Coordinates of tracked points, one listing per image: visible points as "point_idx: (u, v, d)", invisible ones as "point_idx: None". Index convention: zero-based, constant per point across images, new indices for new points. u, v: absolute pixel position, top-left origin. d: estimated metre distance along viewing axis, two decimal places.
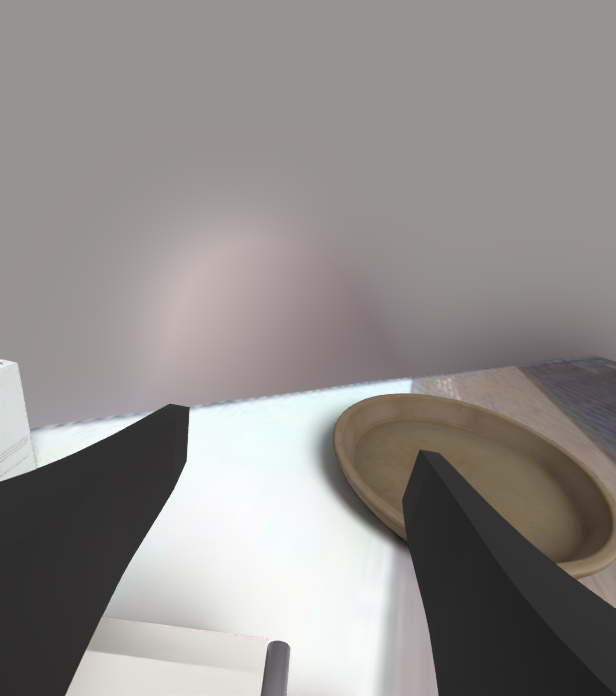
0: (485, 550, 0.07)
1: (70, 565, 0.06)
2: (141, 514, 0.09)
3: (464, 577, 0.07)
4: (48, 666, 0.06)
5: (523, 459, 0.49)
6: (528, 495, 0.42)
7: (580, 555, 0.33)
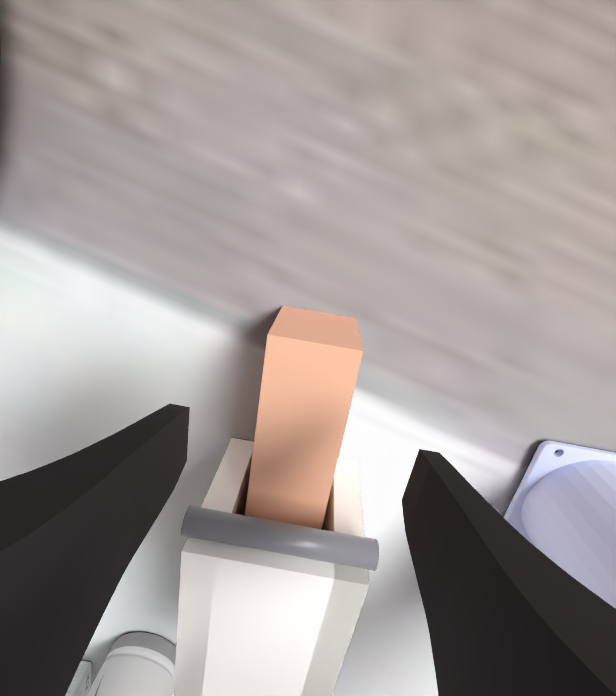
0: (485, 550, 0.07)
1: (70, 565, 0.06)
2: (141, 514, 0.09)
3: (464, 577, 0.07)
4: (48, 666, 0.06)
5: None
6: None
7: None
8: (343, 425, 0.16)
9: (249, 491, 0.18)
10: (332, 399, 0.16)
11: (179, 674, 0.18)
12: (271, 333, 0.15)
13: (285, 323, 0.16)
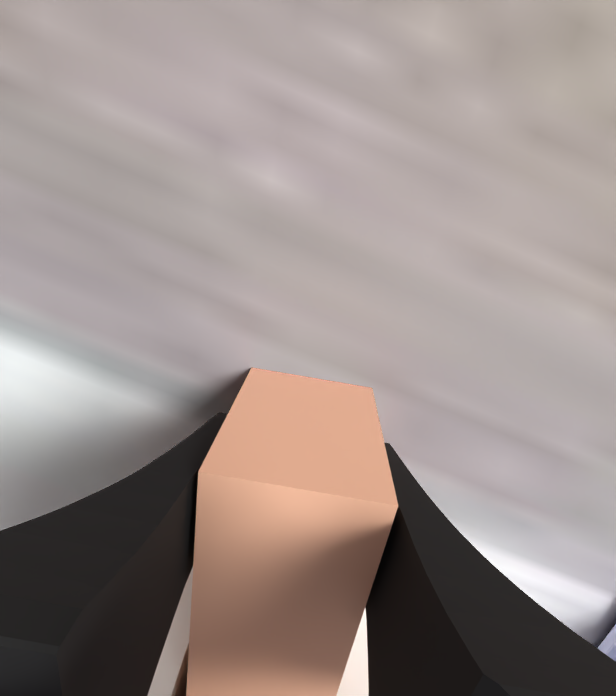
0: (407, 536, 0.07)
1: (155, 581, 0.06)
2: None
3: (392, 564, 0.07)
4: (135, 682, 0.06)
5: None
6: None
7: None
8: (355, 624, 0.08)
9: None
10: (334, 584, 0.08)
11: None
12: (209, 465, 0.07)
13: (245, 424, 0.09)
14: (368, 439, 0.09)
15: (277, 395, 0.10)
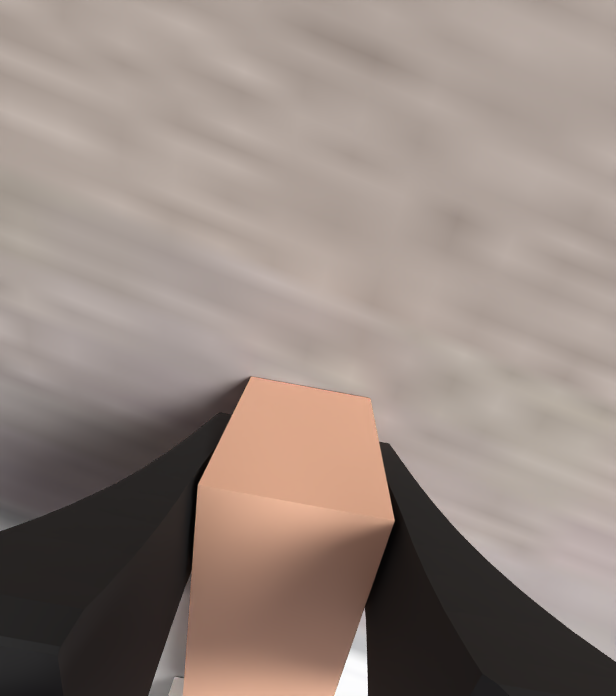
0: (407, 536, 0.07)
1: (156, 581, 0.06)
2: None
3: (392, 564, 0.07)
4: (136, 682, 0.06)
5: None
6: None
7: None
8: (350, 634, 0.08)
9: None
10: (331, 595, 0.08)
11: None
12: (208, 478, 0.07)
13: (244, 435, 0.09)
14: (366, 451, 0.09)
15: (276, 405, 0.10)
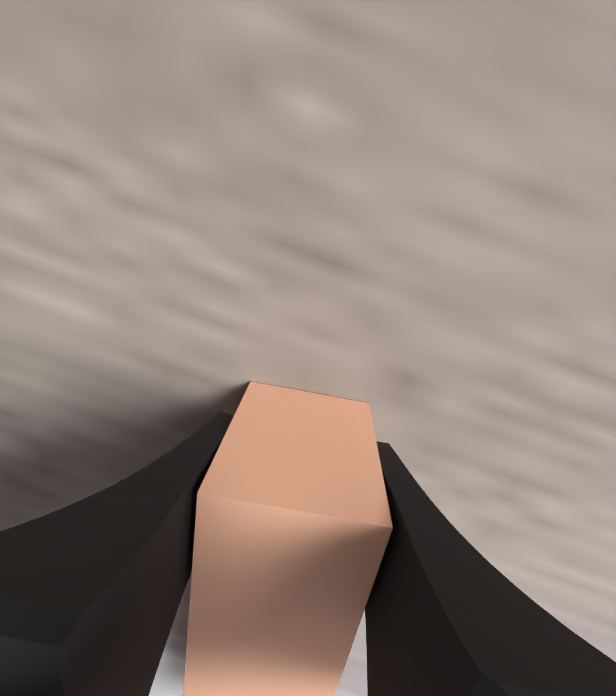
0: (406, 536, 0.07)
1: (156, 581, 0.06)
2: None
3: (391, 564, 0.07)
4: (136, 682, 0.06)
5: None
6: None
7: None
8: (349, 640, 0.09)
9: None
10: (329, 601, 0.08)
11: None
12: (208, 485, 0.07)
13: (243, 442, 0.09)
14: (364, 457, 0.09)
15: (275, 411, 0.10)
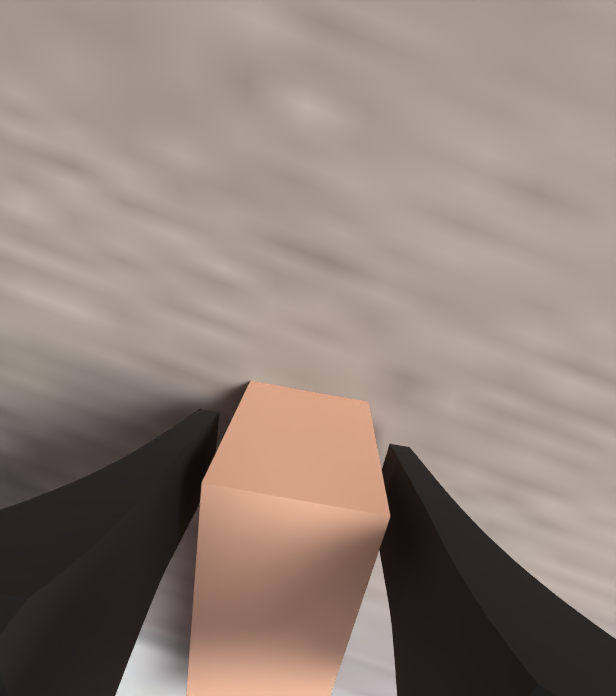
0: (439, 542, 0.07)
1: (121, 574, 0.06)
2: (177, 521, 0.09)
3: (421, 569, 0.07)
4: (100, 675, 0.06)
5: None
6: None
7: None
8: (349, 627, 0.09)
9: None
10: (329, 588, 0.08)
11: None
12: (212, 476, 0.08)
13: (246, 435, 0.09)
14: (363, 450, 0.09)
15: (276, 406, 0.11)
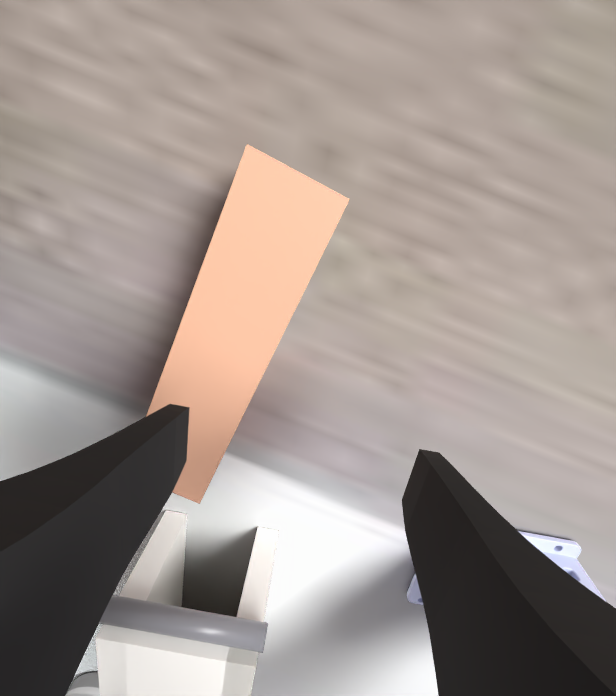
0: (485, 550, 0.07)
1: (70, 565, 0.06)
2: (141, 514, 0.09)
3: (464, 577, 0.07)
4: (48, 666, 0.06)
5: None
6: None
7: None
8: (302, 289, 0.14)
9: (173, 347, 0.15)
10: (299, 252, 0.13)
11: None
12: (252, 147, 0.12)
13: None
14: None
15: None
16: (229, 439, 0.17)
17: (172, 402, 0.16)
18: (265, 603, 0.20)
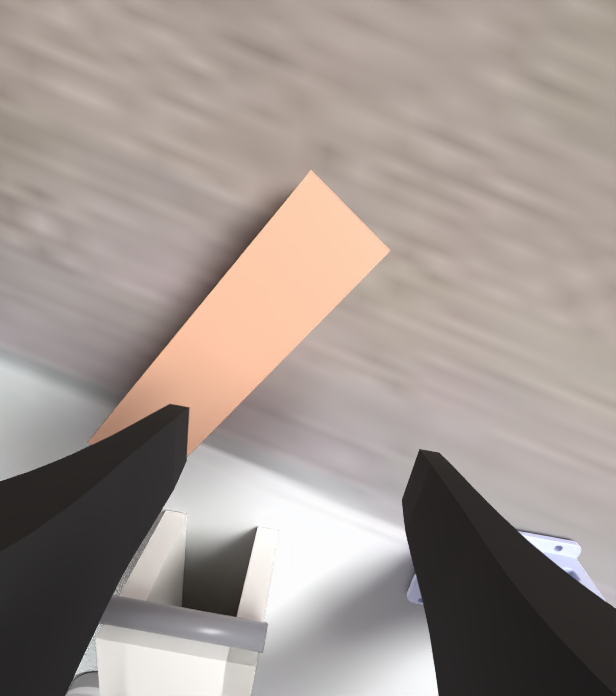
0: (485, 550, 0.07)
1: (70, 565, 0.06)
2: (141, 514, 0.09)
3: (464, 577, 0.07)
4: (48, 666, 0.06)
5: None
6: None
7: None
8: (320, 318, 0.14)
9: (177, 335, 0.15)
10: (328, 284, 0.14)
11: None
12: None
13: None
14: None
15: None
16: (205, 436, 0.17)
17: (158, 387, 0.16)
18: (265, 603, 0.20)
